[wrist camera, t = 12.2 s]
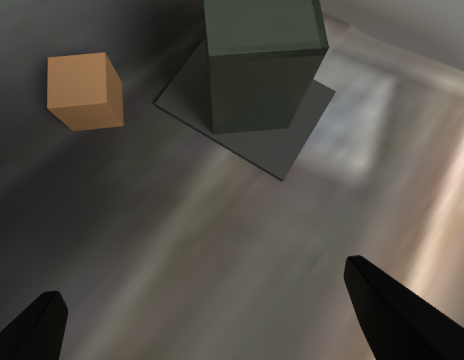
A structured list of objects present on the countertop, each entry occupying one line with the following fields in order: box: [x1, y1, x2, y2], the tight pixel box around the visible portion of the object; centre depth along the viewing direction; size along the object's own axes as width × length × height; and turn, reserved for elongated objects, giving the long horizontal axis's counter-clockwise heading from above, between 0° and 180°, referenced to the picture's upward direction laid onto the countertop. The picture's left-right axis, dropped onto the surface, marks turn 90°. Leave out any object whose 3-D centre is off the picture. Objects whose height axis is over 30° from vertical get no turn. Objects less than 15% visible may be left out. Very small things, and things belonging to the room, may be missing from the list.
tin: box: [202, 0, 329, 135], centre depth 21 cm, size 6×6×10 cm
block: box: [47, 53, 124, 131], centre depth 24 cm, size 4×4×4 cm
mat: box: [155, 38, 335, 181], centre depth 26 cm, size 12×9×1 cm
